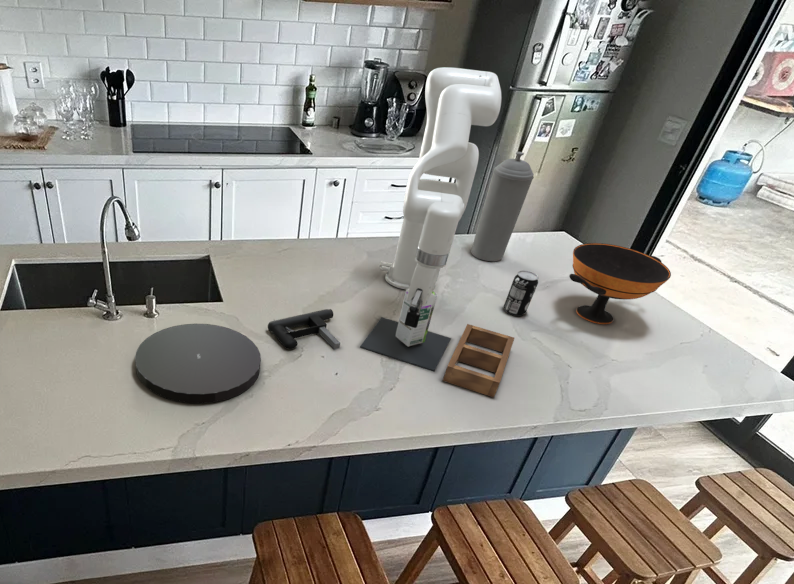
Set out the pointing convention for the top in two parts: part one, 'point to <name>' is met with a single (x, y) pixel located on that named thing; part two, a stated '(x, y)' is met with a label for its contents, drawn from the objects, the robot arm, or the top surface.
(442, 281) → the top surface
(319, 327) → the door handle
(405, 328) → the syrup box
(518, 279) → the beverage can
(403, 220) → the robot arm
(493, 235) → the canister
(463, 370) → the rack
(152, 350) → the disc
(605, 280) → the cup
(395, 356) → the mat
